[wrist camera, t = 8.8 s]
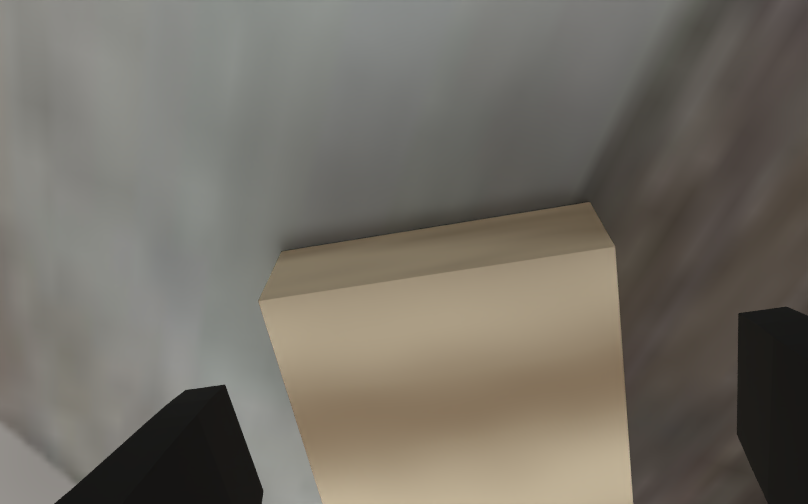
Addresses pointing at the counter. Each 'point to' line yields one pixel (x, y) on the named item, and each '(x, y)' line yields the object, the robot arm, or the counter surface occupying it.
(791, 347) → the robot arm
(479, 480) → the maple block
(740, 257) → the counter surface
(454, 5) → the counter surface
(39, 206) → the counter surface
